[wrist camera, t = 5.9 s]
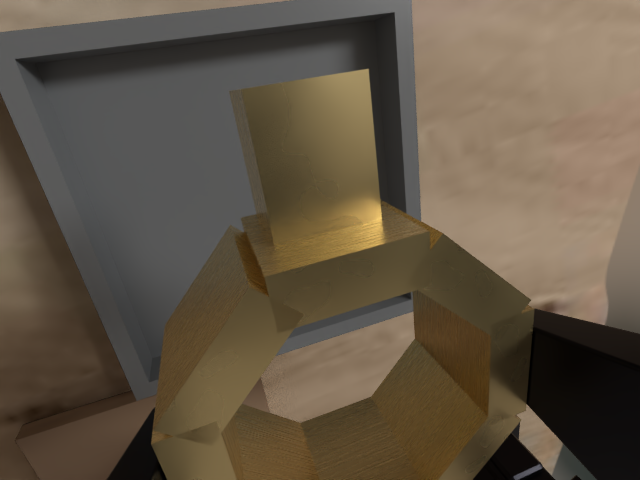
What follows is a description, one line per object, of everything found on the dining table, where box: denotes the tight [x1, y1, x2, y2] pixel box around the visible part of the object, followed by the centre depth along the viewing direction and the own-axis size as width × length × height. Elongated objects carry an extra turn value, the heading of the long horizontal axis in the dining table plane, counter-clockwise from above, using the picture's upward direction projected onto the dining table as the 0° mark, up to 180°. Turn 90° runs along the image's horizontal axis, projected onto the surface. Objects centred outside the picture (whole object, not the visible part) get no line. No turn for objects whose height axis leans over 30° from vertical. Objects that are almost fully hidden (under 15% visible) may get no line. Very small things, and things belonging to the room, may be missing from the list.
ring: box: [151, 69, 535, 480], centre depth 8 cm, size 10×7×3 cm
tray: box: [0, 0, 421, 401], centre depth 18 cm, size 16×16×2 cm
